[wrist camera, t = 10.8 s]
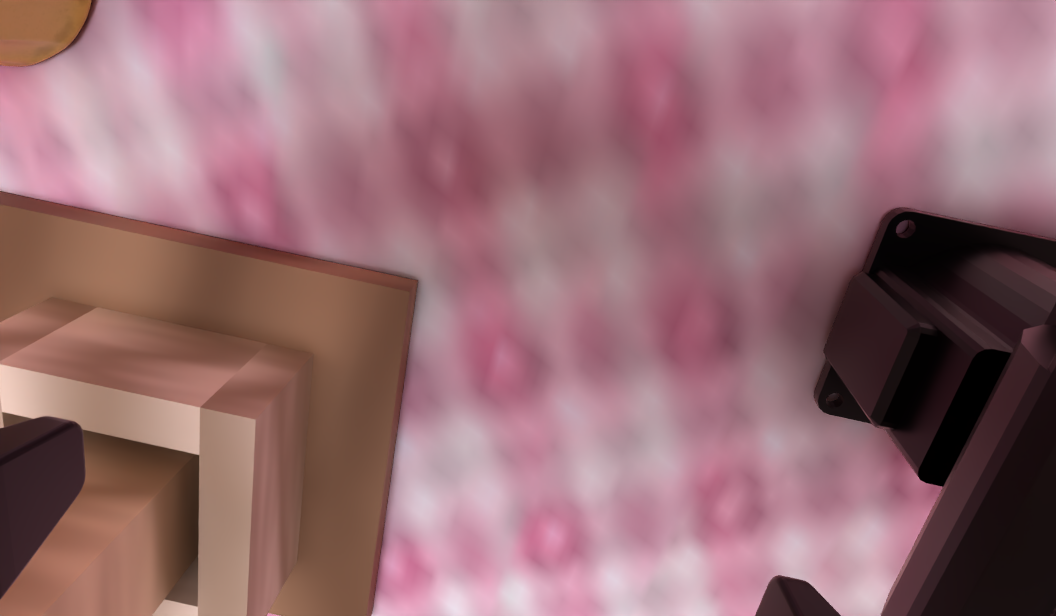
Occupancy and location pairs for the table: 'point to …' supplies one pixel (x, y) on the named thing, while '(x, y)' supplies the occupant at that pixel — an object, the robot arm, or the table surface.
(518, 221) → the table surface
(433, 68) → the table surface
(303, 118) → the table surface
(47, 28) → the vase
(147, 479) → the peg
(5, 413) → the well
